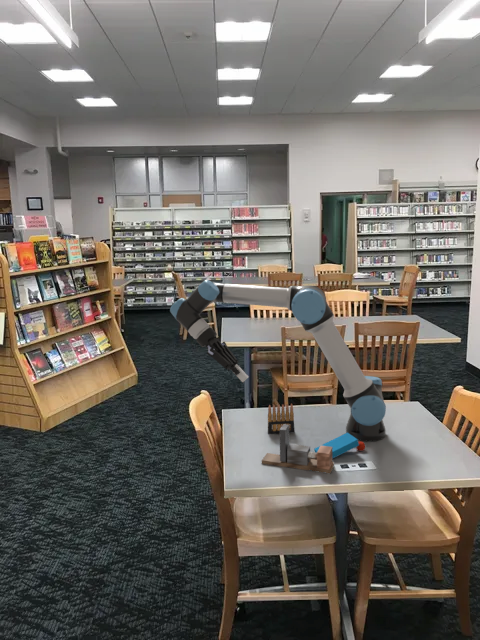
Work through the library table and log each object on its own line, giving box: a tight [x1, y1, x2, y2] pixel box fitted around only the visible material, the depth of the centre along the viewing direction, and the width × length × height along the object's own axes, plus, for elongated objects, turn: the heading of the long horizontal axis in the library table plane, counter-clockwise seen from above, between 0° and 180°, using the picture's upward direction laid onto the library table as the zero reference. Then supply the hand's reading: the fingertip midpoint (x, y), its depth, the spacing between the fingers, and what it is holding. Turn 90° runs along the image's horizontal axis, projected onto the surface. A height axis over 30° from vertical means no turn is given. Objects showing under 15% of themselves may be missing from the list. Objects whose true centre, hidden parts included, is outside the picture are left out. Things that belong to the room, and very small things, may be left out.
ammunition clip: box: [267, 403, 296, 435], centre depth 196 cm, size 11×2×12 cm, turn 93°
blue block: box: [313, 432, 366, 460], centre depth 176 cm, size 7×7×18 cm
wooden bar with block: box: [261, 443, 335, 474], centre depth 168 cm, size 24×6×7 cm, turn 69°
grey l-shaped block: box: [279, 424, 317, 462], centre depth 167 cm, size 16×5×12 cm, turn 69°
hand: (245, 379), depth 180 cm, fingers closed
